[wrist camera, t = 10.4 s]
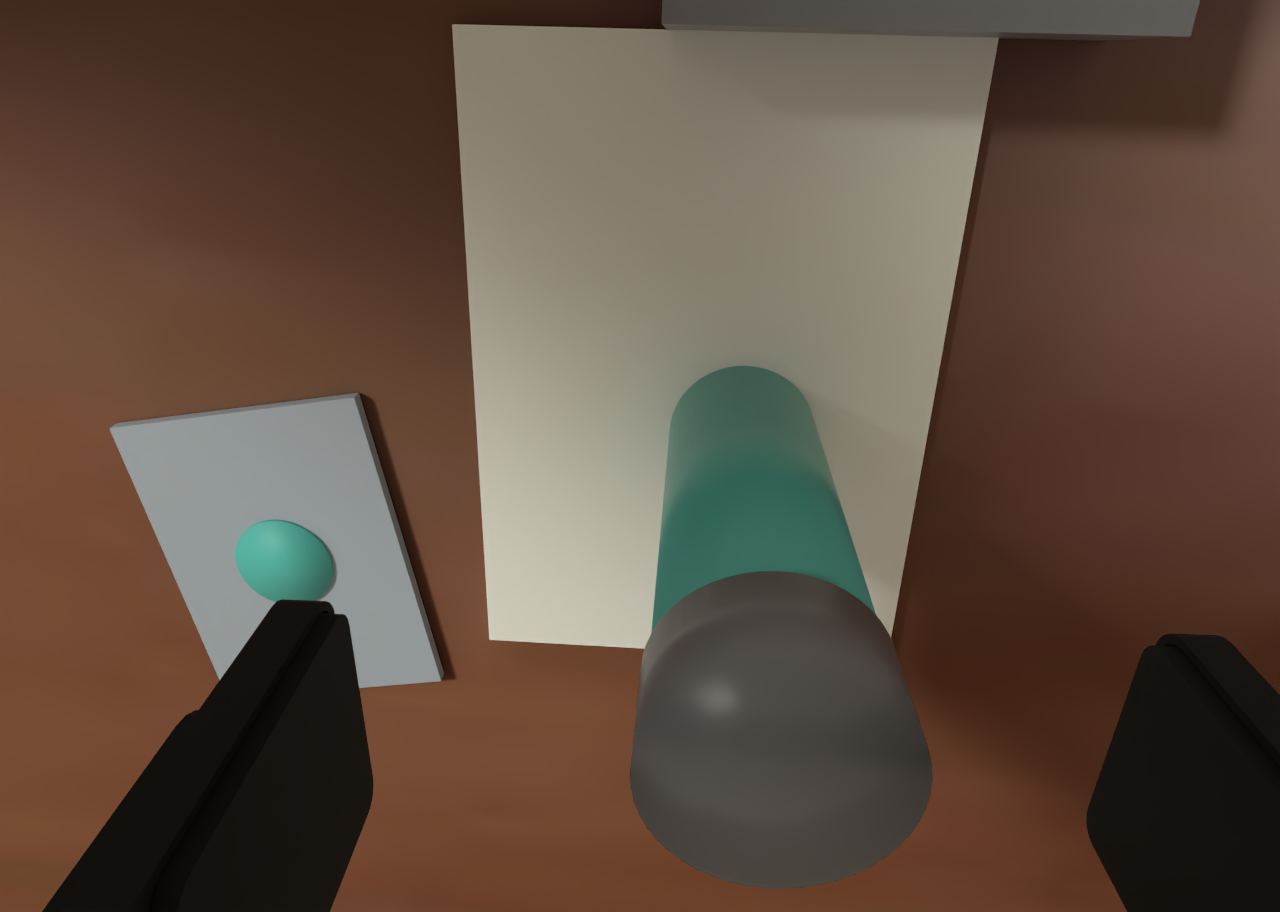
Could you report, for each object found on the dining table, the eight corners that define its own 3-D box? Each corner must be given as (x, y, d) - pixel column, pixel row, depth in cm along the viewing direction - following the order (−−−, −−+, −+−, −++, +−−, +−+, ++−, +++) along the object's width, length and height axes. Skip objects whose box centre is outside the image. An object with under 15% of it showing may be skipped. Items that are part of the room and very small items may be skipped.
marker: (668, 357, 18) (633, 651, 9) (827, 364, 18) (957, 672, 9) (662, 498, 20) (626, 877, 11) (810, 507, 20) (906, 898, 10)
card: (117, 423, 20) (106, 430, 20) (358, 392, 20) (352, 398, 19) (233, 691, 23) (226, 701, 23) (444, 673, 23) (440, 683, 22)
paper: (455, 24, 16) (452, 23, 16) (993, 38, 16) (999, 37, 16) (491, 632, 22) (489, 639, 22) (884, 654, 22) (886, 662, 21)
